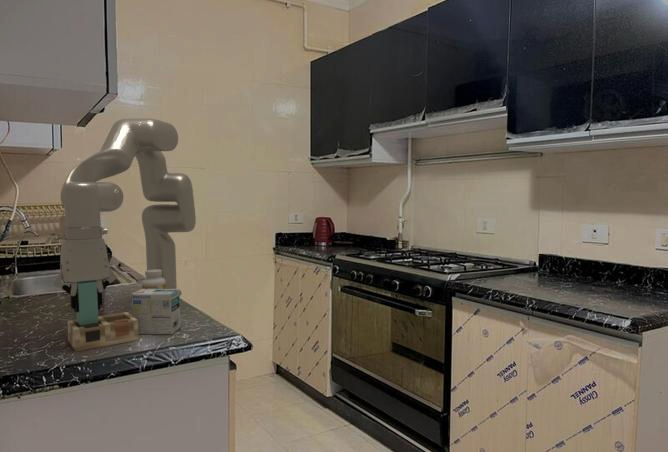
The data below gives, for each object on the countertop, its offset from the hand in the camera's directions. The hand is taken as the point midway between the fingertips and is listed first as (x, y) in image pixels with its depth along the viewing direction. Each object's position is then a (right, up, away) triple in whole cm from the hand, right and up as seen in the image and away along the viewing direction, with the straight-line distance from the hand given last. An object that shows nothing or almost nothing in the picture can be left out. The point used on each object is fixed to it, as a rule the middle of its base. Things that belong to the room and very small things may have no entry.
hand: (87, 308), depth 119 cm
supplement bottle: (+6, -6, +29) cm, 30 cm away
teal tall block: (0, -3, 0) cm, 3 cm away
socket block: (+3, -8, +3) cm, 9 cm away
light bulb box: (+13, -8, +11) cm, 19 cm away
